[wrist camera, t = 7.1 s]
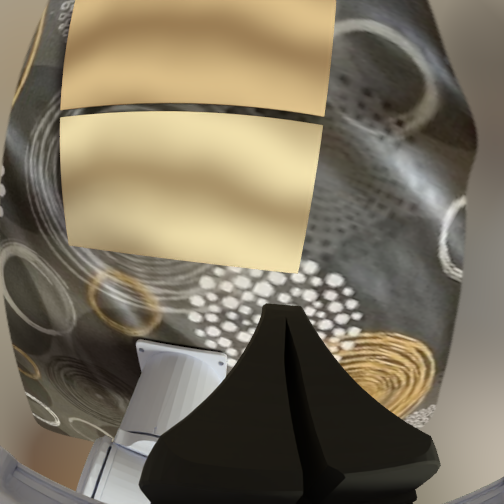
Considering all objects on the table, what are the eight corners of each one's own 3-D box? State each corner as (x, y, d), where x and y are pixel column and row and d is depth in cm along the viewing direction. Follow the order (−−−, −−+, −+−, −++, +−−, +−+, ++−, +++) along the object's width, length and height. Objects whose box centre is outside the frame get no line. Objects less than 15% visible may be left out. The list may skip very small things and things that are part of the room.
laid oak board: (319, 116, 16) (324, 116, 14) (73, 109, 16) (60, 110, 14) (331, -2, 12) (336, -10, 11) (86, 4, 12) (75, -1, 11)
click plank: (295, 262, 20) (297, 273, 19) (79, 236, 20) (68, 245, 19) (318, 124, 16) (322, 125, 15) (72, 116, 16) (60, 117, 15)
